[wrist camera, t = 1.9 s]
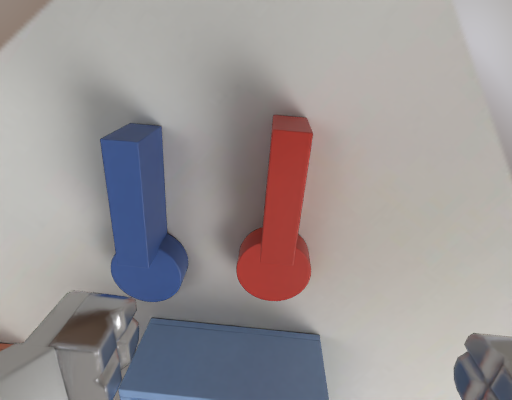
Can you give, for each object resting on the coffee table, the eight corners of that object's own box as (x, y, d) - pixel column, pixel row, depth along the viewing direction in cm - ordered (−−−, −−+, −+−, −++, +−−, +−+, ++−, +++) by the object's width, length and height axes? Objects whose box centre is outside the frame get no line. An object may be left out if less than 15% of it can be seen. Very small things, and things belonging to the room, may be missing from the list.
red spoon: (248, 112, 15) (241, 126, 13) (332, 119, 15) (344, 135, 13) (237, 279, 20) (231, 316, 17) (303, 285, 20) (307, 323, 17)
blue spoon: (105, 120, 16) (70, 136, 13) (185, 127, 16) (167, 144, 13) (126, 281, 20) (102, 317, 18) (189, 287, 20) (175, 324, 18)
